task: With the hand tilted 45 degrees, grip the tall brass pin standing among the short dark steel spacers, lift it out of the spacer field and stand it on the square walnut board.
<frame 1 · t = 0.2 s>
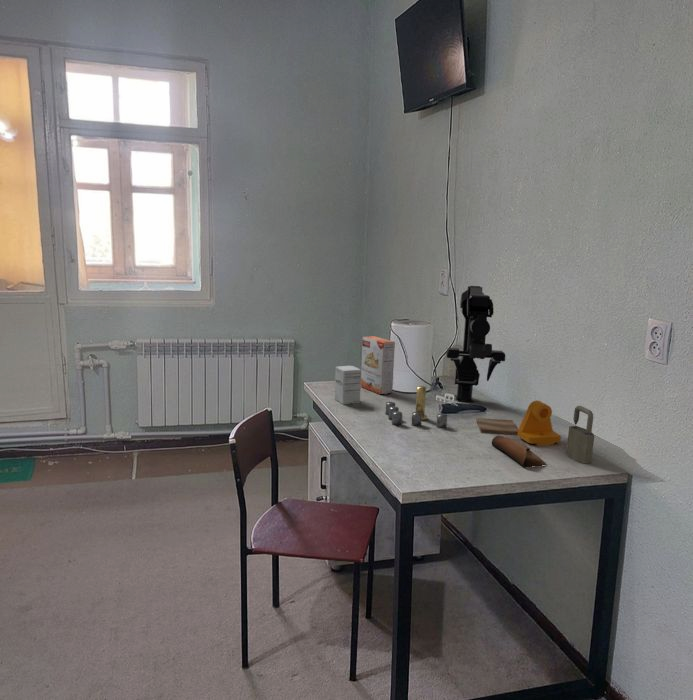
hand: (473, 380, 196), 14 cm above the table, tool pointing down, fingers open, 9 cm apart
padlock: (578, 458, 168), on the table
spacer 4: (390, 414, 203), on the table
bracket: (538, 442, 181), on the table
spacer 3: (441, 427, 191), on the table
sunglasses case: (518, 457, 169), on the table
spacer 2: (393, 419, 198), on the table
spacer 5: (396, 424, 192), on the table
spacer 1: (416, 425, 193), on the table
supplement box: (347, 401, 218), on the table
brass pin: (419, 418, 200), on the table
board: (496, 427, 193), on the table
cracker box: (375, 390, 234), on the table
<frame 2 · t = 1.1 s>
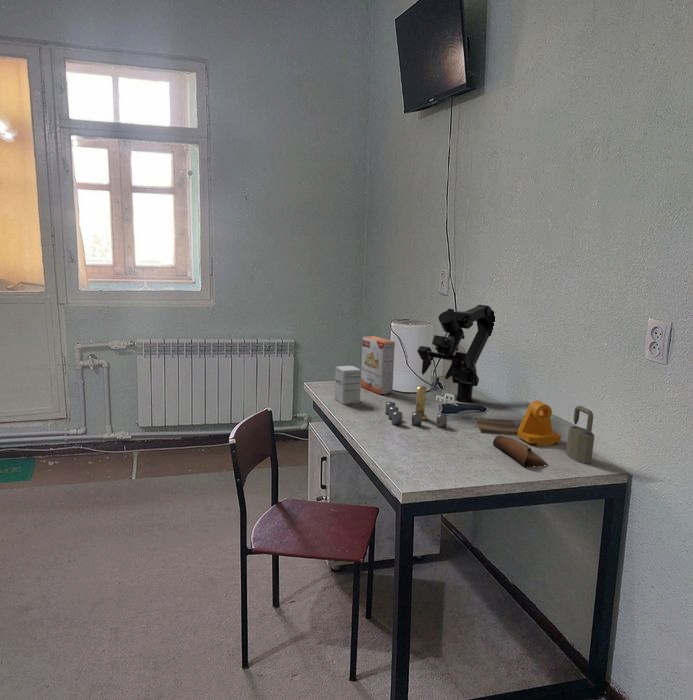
hand: (434, 376, 203), 13 cm above the table, tool tilted 45°, fingers open, 9 cm apart
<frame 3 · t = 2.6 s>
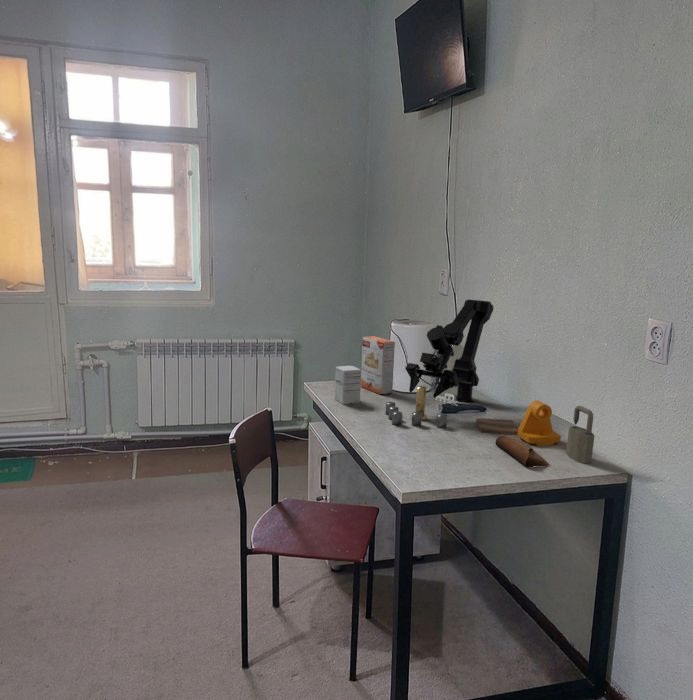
hand: (421, 394, 199), 8 cm above the table, tool tilted 45°, fingers open, 9 cm apart
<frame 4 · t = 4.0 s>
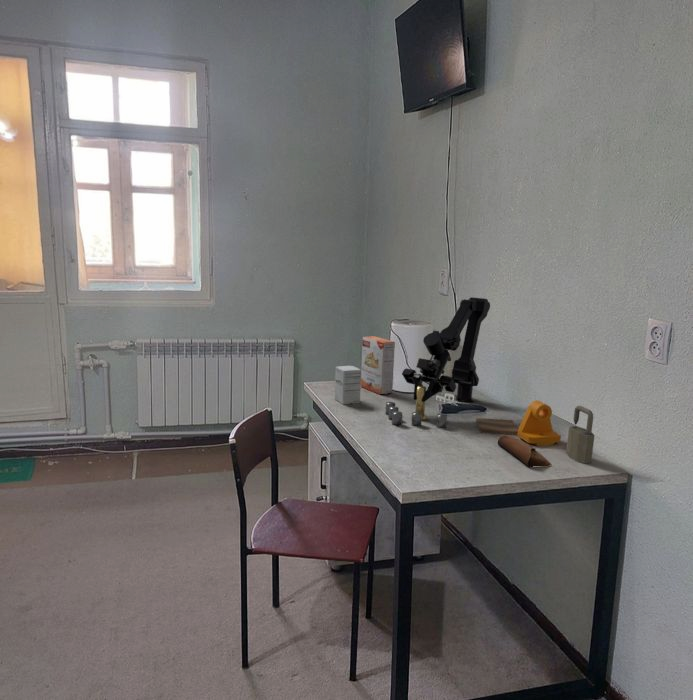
hand: (418, 400, 197), 7 cm above the table, tool tilted 45°, fingers closed on brass pin, 3 cm apart
brass pin: (419, 418, 200), on the table, touching gripper
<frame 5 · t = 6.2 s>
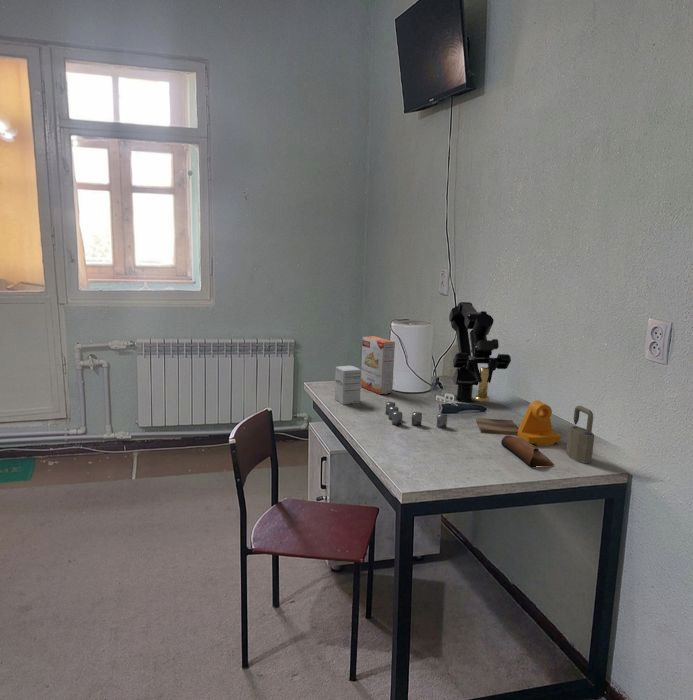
hand: (484, 382, 198), 13 cm above the table, tool tilted 45°, fingers closed on brass pin, 3 cm apart
brass pin: (482, 400, 200), point 7 cm above the table, touching gripper
when the fingers open (9 cm above the table, at t = 8.7 s): brass pin drops 1 cm, resting on board.
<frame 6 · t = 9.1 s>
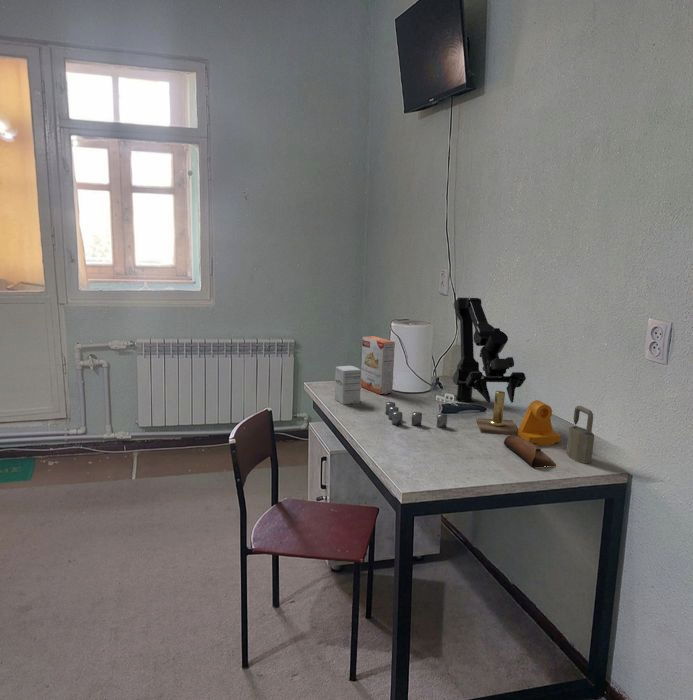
hand: (500, 402, 190), 9 cm above the table, tool tilted 45°, fingers open, 7 cm apart
bracket: (539, 441, 182), on the table, touching sunglasses case
sunglasses case: (529, 458, 169), on the table, touching bracket
brass pin: (497, 424, 193), point 1 cm above the table, touching board
everything else where it was.
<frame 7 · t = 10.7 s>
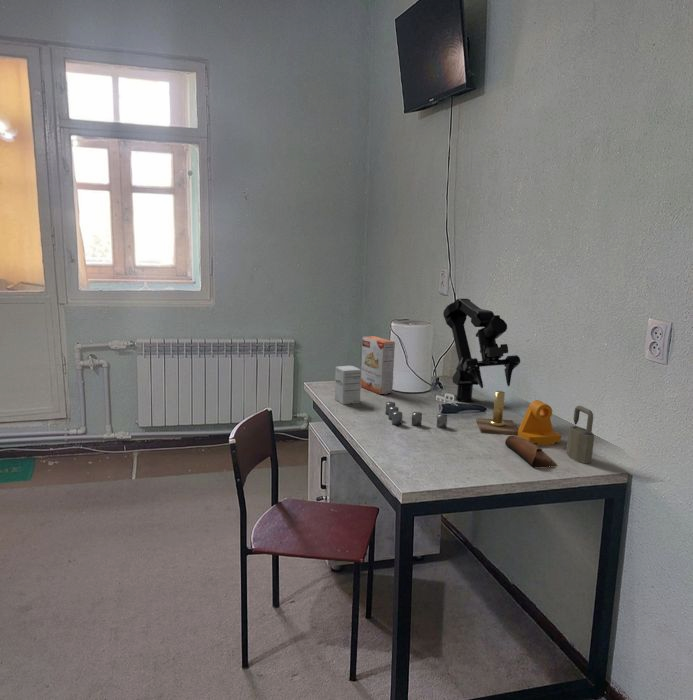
hand: (495, 386, 201), 11 cm above the table, tool tilted 30°, fingers open, 9 cm apart
bracket: (539, 441, 182), on the table
sunglasses case: (530, 458, 169), on the table
everything else where it was.
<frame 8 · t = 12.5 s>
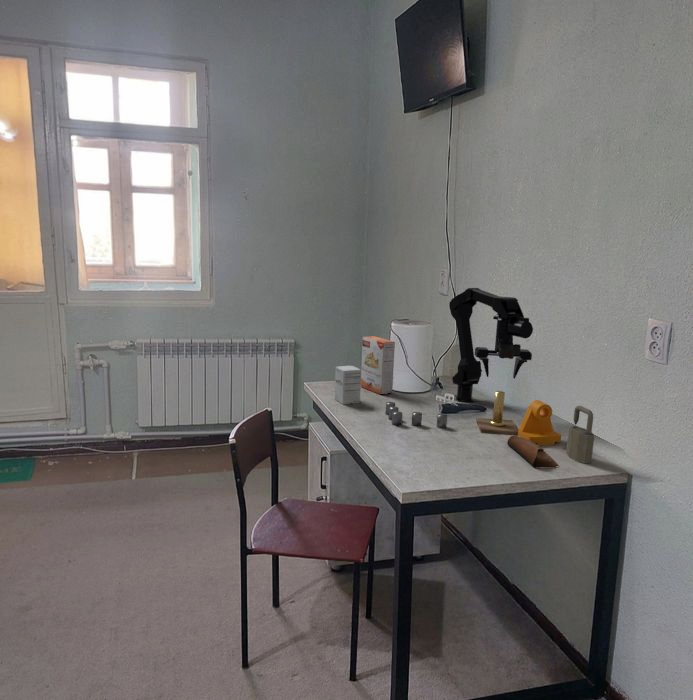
hand: (500, 377, 207), 13 cm above the table, tool pointing down, fingers open, 9 cm apart
at the end: brass pin 0.0 cm from the board (horizontally); brass pin tilted 0°; the gripper is holding nothing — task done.
